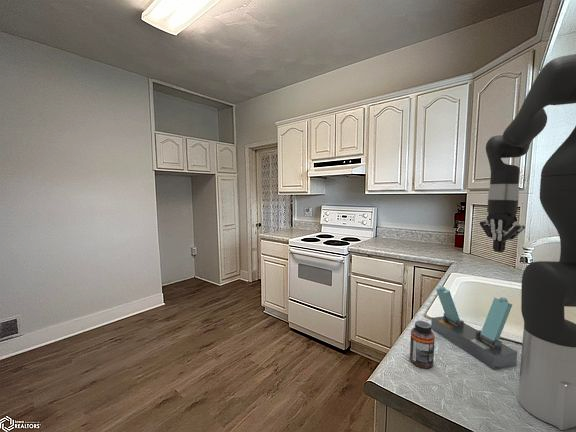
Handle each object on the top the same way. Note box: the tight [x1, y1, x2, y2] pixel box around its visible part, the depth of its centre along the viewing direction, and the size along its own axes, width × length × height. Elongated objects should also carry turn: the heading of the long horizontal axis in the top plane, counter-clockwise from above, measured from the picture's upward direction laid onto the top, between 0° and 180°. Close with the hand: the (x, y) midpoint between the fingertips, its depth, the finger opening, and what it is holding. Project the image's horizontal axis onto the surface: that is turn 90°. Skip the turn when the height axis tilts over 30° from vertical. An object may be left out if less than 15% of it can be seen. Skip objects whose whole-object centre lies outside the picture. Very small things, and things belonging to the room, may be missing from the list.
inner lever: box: [479, 296, 513, 346], centre depth 75 cm, size 4×2×14 cm, turn 13°
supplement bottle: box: [409, 320, 436, 369], centre depth 72 cm, size 6×6×11 cm
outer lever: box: [435, 285, 461, 325], centre depth 86 cm, size 4×2×14 cm, turn 13°
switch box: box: [430, 312, 518, 370], centre depth 81 cm, size 22×8×6 cm, turn 13°
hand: (498, 251), depth 84 cm, fingers closed
